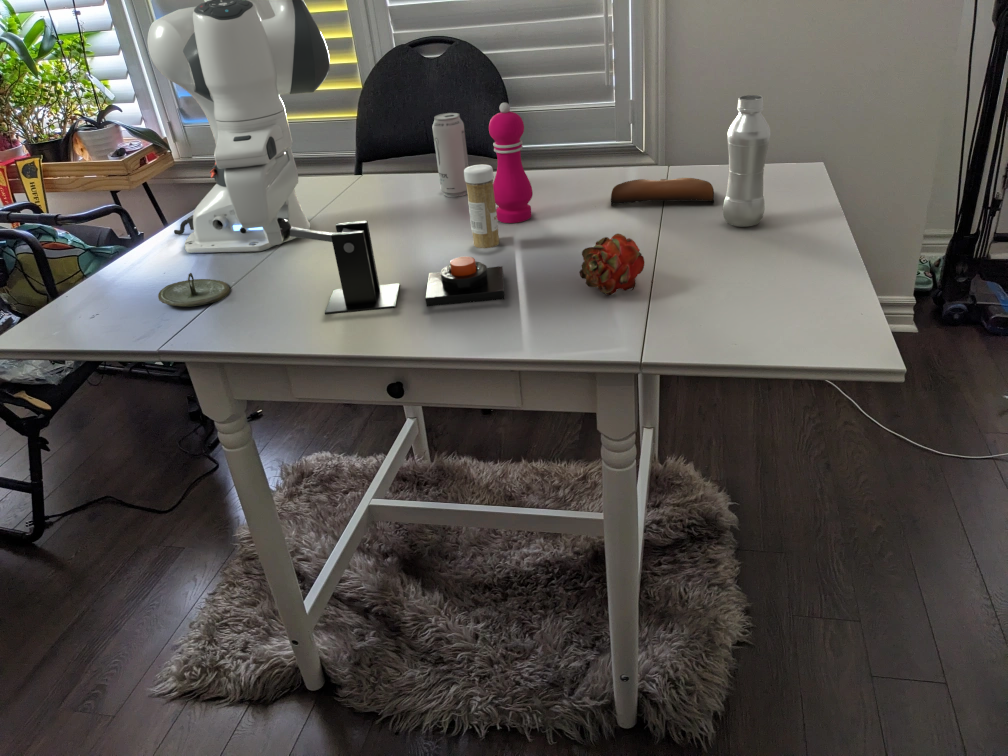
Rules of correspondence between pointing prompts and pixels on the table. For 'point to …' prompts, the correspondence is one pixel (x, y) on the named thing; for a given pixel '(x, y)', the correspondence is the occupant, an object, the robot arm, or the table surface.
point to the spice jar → (482, 205)
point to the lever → (305, 232)
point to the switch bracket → (358, 273)
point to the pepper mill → (510, 167)
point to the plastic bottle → (746, 163)
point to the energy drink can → (450, 153)
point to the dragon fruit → (612, 264)
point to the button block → (465, 286)
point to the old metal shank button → (193, 292)
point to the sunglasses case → (662, 191)
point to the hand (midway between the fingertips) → (281, 237)
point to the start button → (463, 266)
